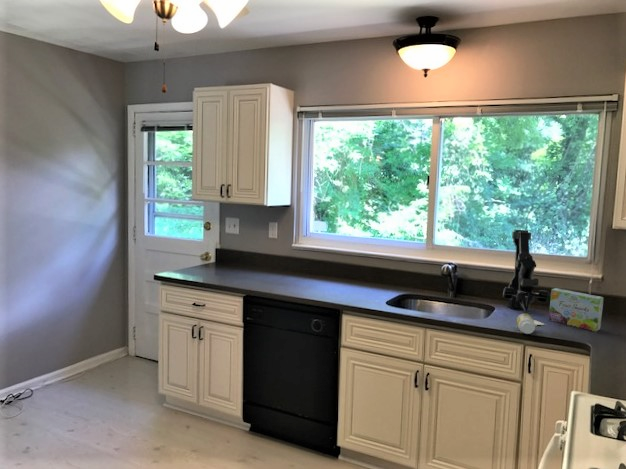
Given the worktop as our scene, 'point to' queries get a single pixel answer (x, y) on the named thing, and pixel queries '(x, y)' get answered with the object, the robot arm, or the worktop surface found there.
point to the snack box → (576, 309)
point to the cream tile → (538, 323)
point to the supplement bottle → (525, 323)
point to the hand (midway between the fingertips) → (526, 311)
